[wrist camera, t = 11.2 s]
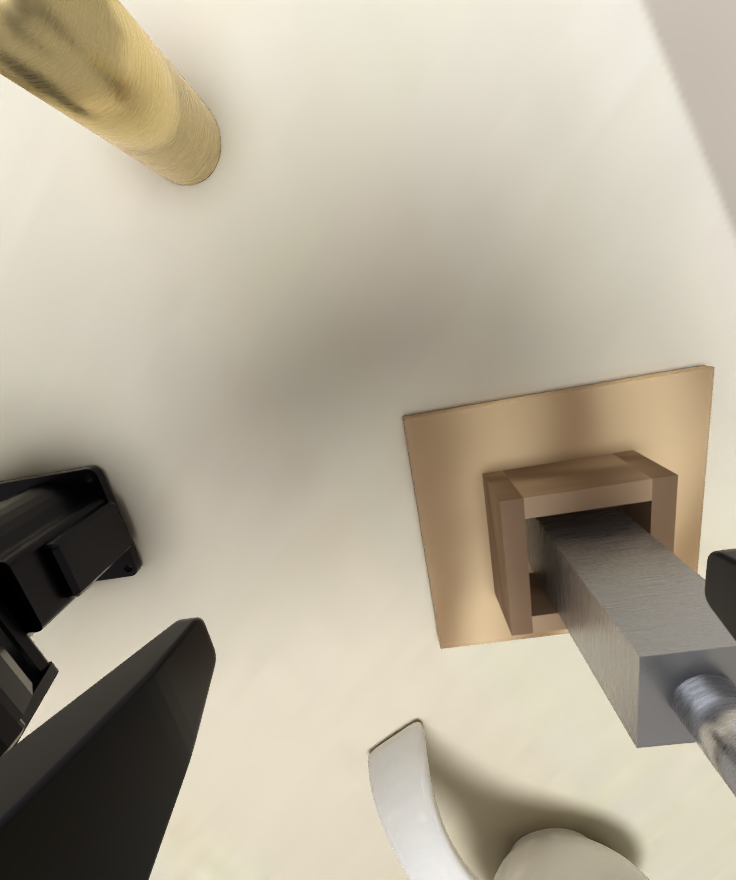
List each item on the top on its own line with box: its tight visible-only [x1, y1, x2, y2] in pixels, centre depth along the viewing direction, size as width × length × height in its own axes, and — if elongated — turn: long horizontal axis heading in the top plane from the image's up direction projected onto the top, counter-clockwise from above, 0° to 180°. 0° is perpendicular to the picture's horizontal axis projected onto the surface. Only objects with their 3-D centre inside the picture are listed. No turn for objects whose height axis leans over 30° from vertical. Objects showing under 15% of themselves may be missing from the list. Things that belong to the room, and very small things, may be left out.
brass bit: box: [0, 0, 221, 185], centre depth 12 cm, size 3×3×9 cm
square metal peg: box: [525, 506, 736, 796], centre depth 15 cm, size 4×4×12 cm
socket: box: [403, 365, 714, 649], centre depth 19 cm, size 14×14×4 cm
